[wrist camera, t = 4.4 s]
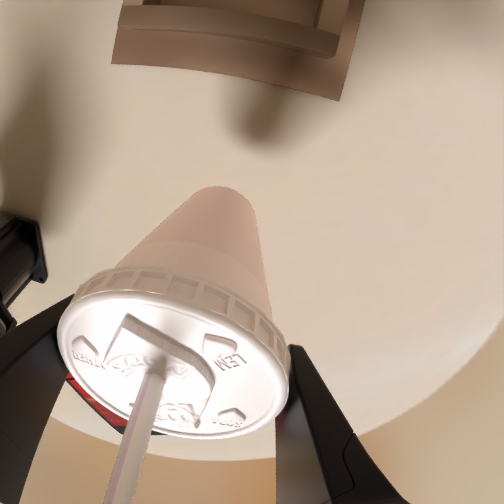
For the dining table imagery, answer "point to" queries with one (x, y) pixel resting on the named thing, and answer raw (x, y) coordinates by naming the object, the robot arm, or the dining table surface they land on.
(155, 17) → the brown shallow square tray
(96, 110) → the dining table surface
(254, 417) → the smoothie
